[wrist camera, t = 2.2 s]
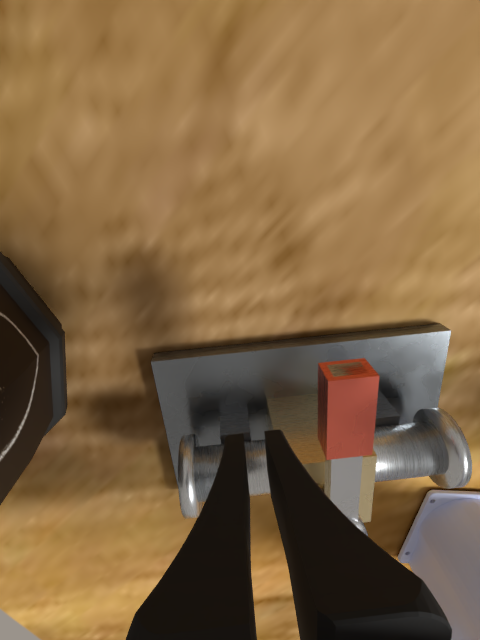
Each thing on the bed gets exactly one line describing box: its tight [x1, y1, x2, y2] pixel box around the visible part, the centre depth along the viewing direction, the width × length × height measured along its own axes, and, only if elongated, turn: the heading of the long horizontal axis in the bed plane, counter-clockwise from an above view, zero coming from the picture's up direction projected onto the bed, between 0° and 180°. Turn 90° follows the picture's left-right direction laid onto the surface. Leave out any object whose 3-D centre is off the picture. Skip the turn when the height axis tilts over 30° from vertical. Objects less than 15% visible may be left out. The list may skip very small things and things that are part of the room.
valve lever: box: [317, 358, 379, 536], centre depth 15 cm, size 11×2×1 cm, turn 5°
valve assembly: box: [151, 323, 472, 523], centre depth 21 cm, size 20×13×8 cm, turn 95°
